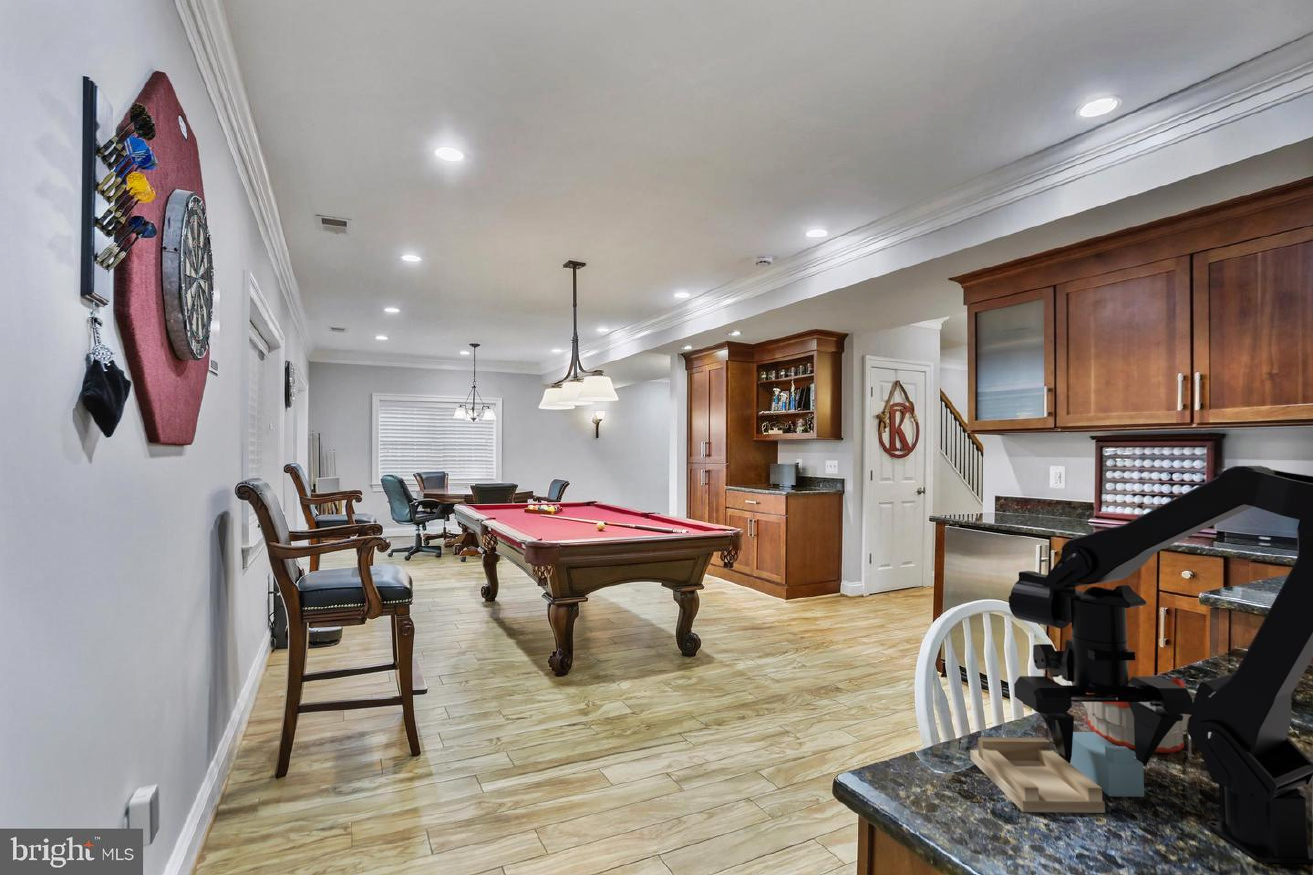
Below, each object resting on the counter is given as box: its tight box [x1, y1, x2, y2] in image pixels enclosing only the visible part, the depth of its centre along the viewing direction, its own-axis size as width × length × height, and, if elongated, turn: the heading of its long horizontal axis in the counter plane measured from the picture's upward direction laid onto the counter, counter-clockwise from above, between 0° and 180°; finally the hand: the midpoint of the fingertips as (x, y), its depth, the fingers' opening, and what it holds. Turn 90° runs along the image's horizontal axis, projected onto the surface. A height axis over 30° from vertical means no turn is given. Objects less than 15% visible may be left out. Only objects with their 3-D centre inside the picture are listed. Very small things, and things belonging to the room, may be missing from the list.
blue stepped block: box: [1070, 731, 1145, 798], centre depth 81 cm, size 9×4×5 cm, turn 178°
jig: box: [969, 736, 1106, 814], centre depth 79 cm, size 13×9×4 cm
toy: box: [1081, 678, 1190, 754], centre depth 91 cm, size 12×10×8 cm
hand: (1103, 764), depth 80 cm, fingers open, 9 cm apart
